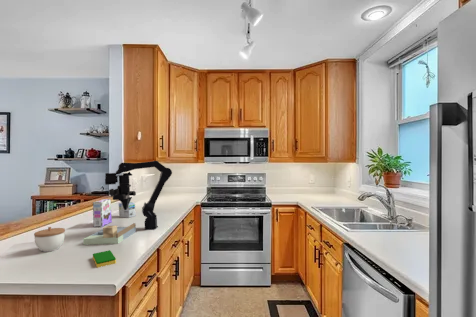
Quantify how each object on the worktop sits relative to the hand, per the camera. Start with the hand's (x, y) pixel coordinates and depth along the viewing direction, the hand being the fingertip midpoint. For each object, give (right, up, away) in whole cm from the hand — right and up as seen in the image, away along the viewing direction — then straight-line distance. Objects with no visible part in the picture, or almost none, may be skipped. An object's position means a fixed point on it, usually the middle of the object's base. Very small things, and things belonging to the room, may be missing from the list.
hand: (125, 209), depth 169 cm
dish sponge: (+10, -14, -48) cm, 51 cm away
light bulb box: (-17, -14, +47) cm, 52 cm away
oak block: (0, -10, -21) cm, 23 cm away
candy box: (-24, -14, +22) cm, 35 cm away
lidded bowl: (-25, -15, -29) cm, 41 cm away
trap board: (-3, -13, -12) cm, 18 cm away
